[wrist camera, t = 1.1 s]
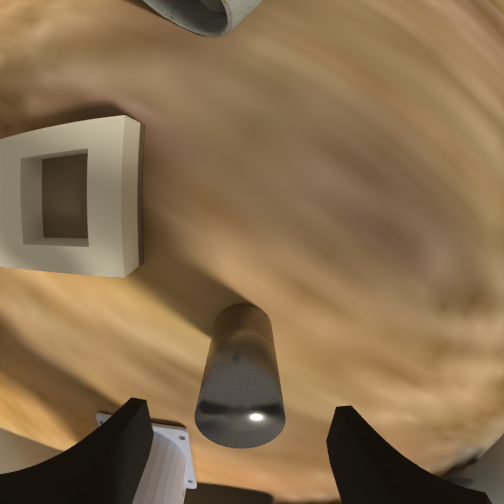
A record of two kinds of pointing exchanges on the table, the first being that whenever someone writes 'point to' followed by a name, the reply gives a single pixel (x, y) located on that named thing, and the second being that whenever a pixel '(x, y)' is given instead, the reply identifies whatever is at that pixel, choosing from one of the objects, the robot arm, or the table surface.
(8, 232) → the board
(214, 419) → the pin
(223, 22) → the ceramic mug
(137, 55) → the table surface
